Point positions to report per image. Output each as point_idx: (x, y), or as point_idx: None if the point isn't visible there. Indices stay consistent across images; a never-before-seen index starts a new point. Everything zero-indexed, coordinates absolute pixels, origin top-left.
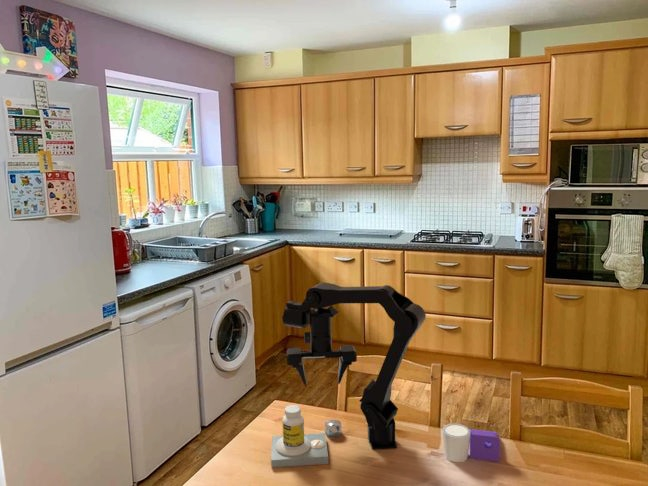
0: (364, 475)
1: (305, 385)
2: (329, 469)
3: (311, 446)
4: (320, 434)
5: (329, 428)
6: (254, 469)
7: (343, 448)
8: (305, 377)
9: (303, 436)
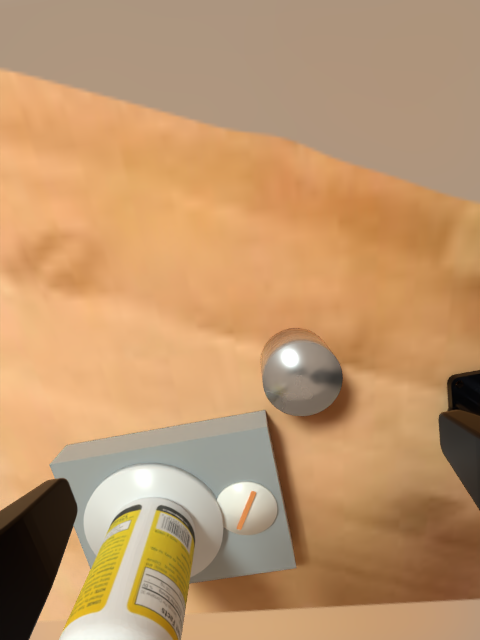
0: (409, 583)
1: (69, 520)
2: (298, 565)
3: (227, 526)
4: (249, 438)
5: (287, 410)
6: (63, 578)
7: (341, 458)
8: (2, 538)
9: (190, 573)
